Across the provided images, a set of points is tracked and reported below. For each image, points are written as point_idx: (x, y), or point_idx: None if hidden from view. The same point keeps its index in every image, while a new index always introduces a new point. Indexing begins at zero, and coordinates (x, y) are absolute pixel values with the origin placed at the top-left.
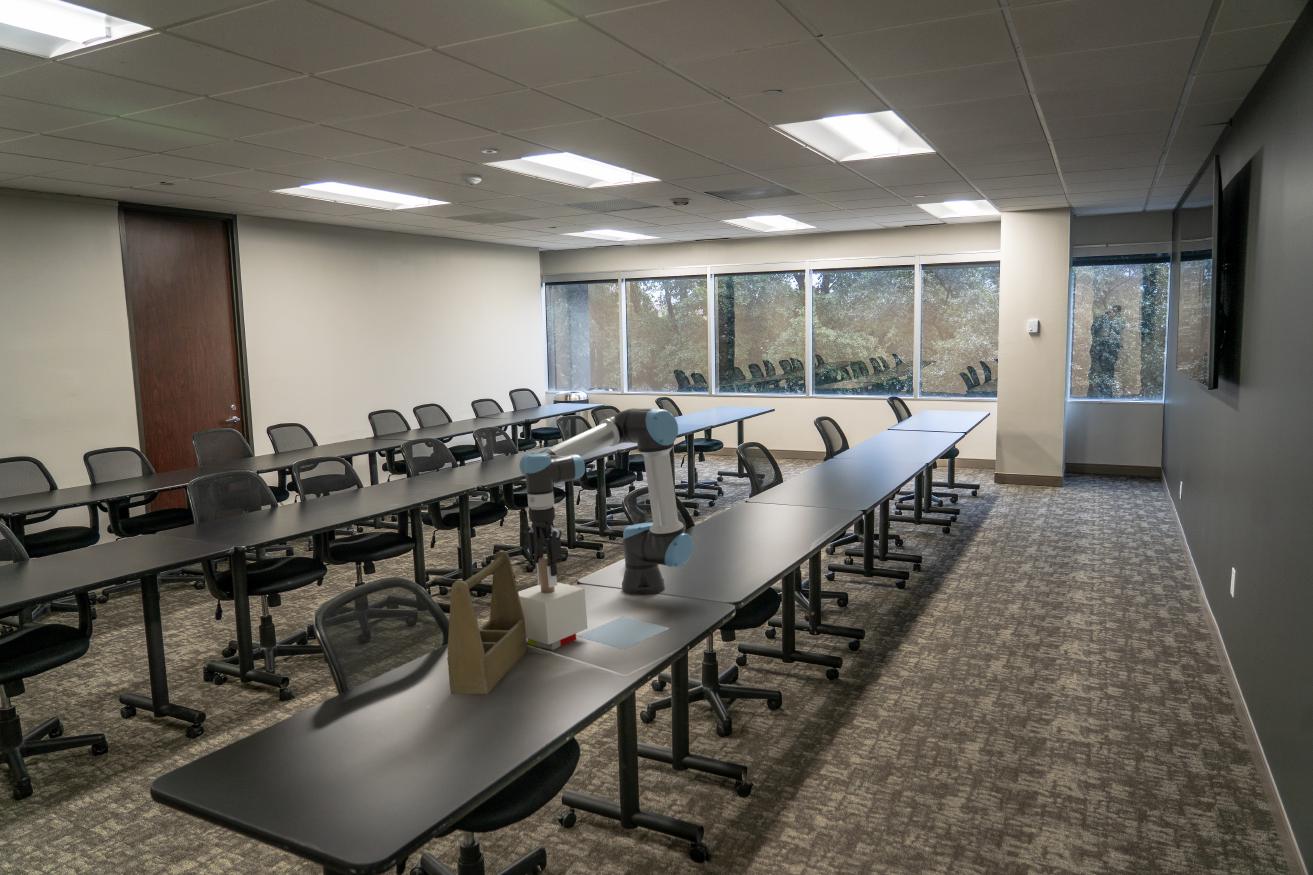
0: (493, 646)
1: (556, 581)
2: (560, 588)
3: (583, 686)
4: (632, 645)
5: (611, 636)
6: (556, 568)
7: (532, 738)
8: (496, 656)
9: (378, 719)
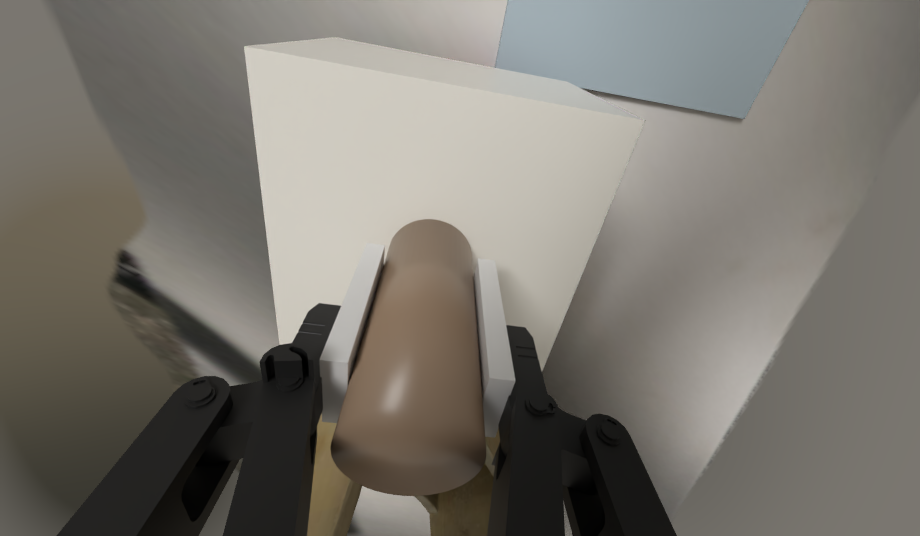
0: (489, 465)
1: (496, 278)
2: (470, 186)
3: (688, 344)
4: (769, 70)
5: (648, 11)
6: (540, 372)
7: (671, 474)
8: (495, 442)
9: (406, 506)
